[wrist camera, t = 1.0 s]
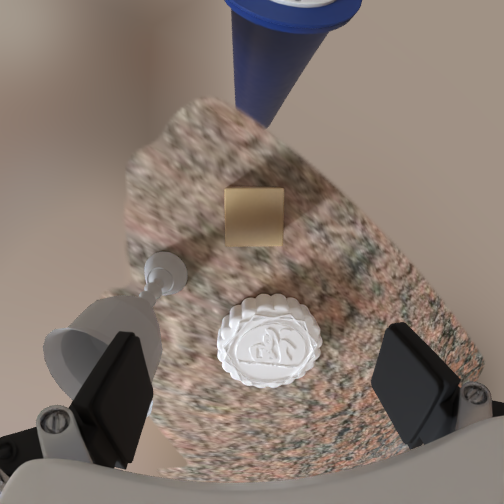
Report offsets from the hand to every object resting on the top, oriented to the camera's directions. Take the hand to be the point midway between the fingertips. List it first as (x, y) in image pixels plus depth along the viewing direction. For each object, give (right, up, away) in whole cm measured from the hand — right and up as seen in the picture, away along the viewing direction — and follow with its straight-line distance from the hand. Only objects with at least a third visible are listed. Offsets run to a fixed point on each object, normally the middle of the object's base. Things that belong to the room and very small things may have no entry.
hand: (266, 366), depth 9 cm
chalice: (-10, +2, +20) cm, 23 cm away
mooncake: (+1, -6, +23) cm, 24 cm away
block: (-1, +8, +18) cm, 20 cm away
